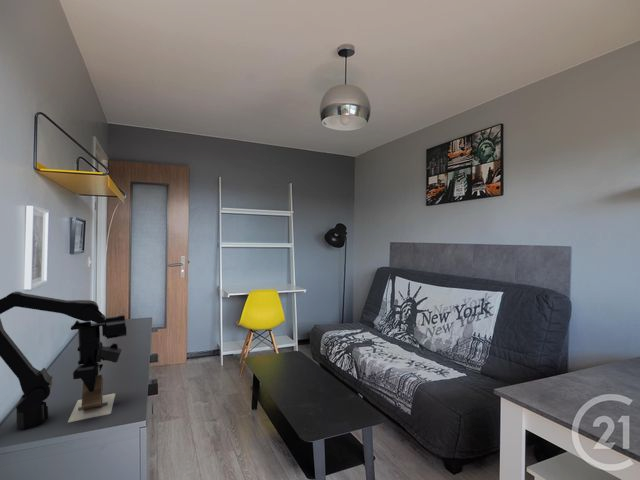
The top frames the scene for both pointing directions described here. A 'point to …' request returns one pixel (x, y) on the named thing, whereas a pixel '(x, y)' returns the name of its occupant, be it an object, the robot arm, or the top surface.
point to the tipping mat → (104, 410)
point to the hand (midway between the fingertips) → (91, 391)
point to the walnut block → (93, 395)
